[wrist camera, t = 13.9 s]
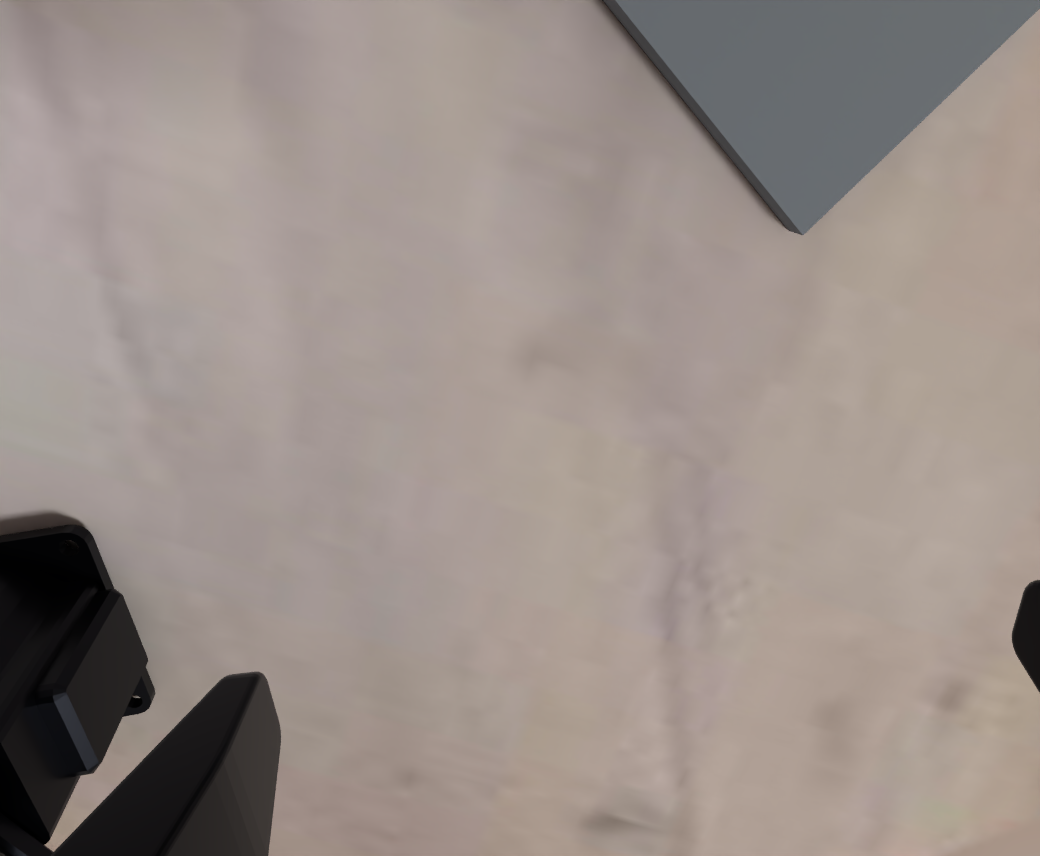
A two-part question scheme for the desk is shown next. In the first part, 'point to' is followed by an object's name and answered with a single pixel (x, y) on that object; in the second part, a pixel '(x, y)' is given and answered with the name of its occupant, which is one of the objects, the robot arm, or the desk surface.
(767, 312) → the desk surface
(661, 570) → the desk surface
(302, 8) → the desk surface
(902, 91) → the rubber mat
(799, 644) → the desk surface
